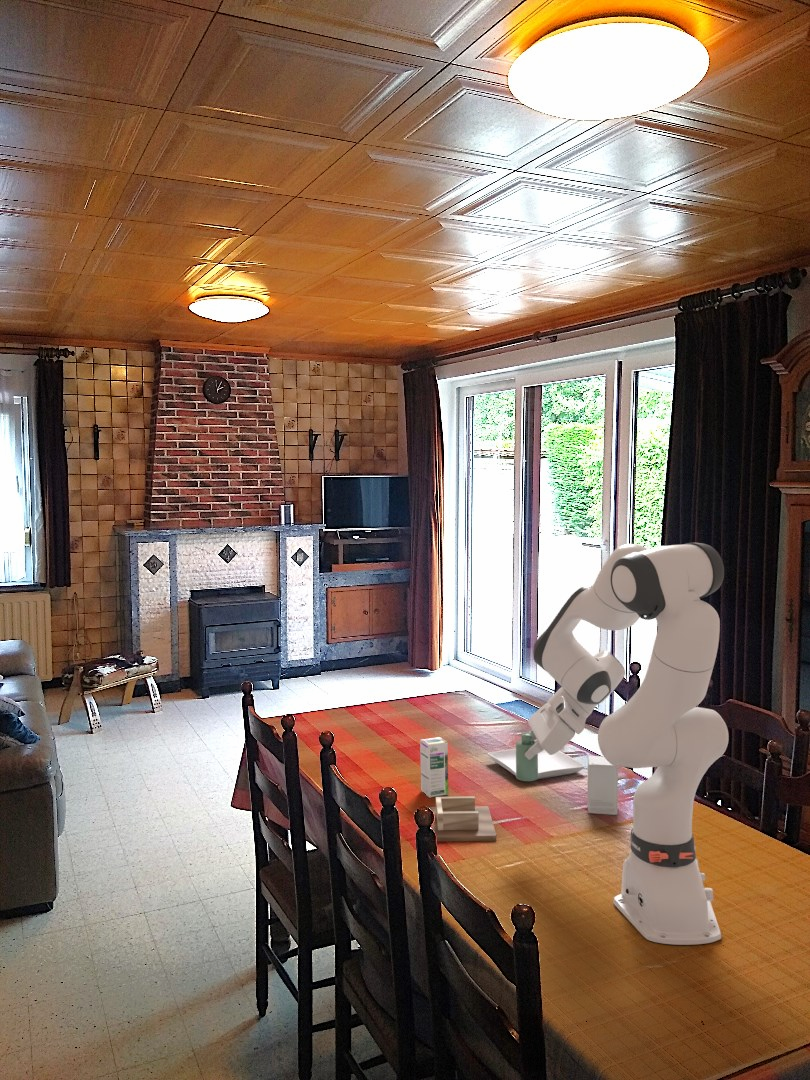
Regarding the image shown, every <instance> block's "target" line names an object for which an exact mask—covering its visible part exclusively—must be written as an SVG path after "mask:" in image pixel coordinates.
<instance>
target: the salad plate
mask: <svg viewBox="0 0 810 1080" xmlns="http://www.w3.org/2000/svg"><path fill="white" fill-rule="evenodd" d="M487 756H488V757H489V758H490V759H491V760H492V761H493V762H494V763H496V764H498V765H499V766H501V768H502V767H503V769H504V770H505V769H506V770H507V771H508V772H510V773H511V774H513V775H514V776H515V777H516V748H511V749H503V750H499V751H498V750H497V751H492V752H491V751H490V752H487ZM585 767H586V765H585V764H583V763H582V762H580V761H579V760H577V759H575V758H573V757H571V756H569V755H568V754H566V753H564V752H562V751H561V750H559V751H558V752H557V753H555V754H553V755H550V754H548V753H547V752H546V751H545V750H543V751H542V752H540V753H538V779H537V780H541V779H549V778H554V777H555V778H556V777H561V776H566V775H571V774H575V773H578V772H580V771H582V770H583V769H585Z"/></svg>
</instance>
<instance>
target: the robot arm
mask: <svg viewBox="0 0 810 1080" xmlns="http://www.w3.org/2000/svg"><path fill="white" fill-rule="evenodd" d="M724 578H725V565H724V563H723V559H722V557H721V555H720V553H719V552H718V551H717V550H716V549H715V548H714V547H713V546H711V545H709V544H706V543H704V542H703V543H702V542H701V543H700V542H687V543H684V544H671V545H659V546H655V547H652V548H647V547H644V546H642V545H639V544H637V543H636V544H635V543H626V544H622V545H619V546H618V547H616V548H615V549H614V550H613V551H612V553H611V554H610V555H609V557H608V558H607V559H606V561H605V562H604V564H603V566H602V567H601V568H600V570H599V573H598V574H597V576H596V579H595V580H594V583H593V584H592V585H589V584H586V585H583V586H581V587H580V588H578V589H576V590H575V591H574V592H573V593H572V594H571V595H570V597H569V598H568V599H567V600H566V601H565V602H564V605H563V606H562V607H561V608H560V610H559V612H558V613H557V614H556V616H555V617H554V619H552V621H551V623H550V624H549V626H548V627H547V629H545V631H543V633H542V634H541V635H540V636H539V637H538V638H537V639H536V641H535V643H534V644H533V650H532V651H533V652H532V653H533V654H532V655H533V661H534V663H535V664H536V665H538V666H539V667H540V668H541V669H543V670H544V672H547V674H548V675H550V677H551V678H553V680H554V681H556V682H557V684H558V685H559V686H560V688H558V689H557V691H556V692H554V694H553V695H552V696H551V697H550V698H549V699H548V700H547V702H546V703H545V704H543V705H542V706H541V707H540V708H538V710H536V711H535V712H534V713H533V714H532V715H531V716H529V717H530V718H528V720H527V723H528V725H529V727H530V730H529V731H528V732H527V733H529V734H532V741H535V740H536V741H535V743H534V745H533V746H532V747H530V748H528V749H527V750H526V751H525V752H524V755H525V757H527V758H528V759H529V760H530V759H532V758H533V757H534V756H535V755H536V754H538V753H540V752H542V751H543V750H545V751H546V752H547V753H548V754H550V755H553V754H555V753H557V752H558V751H561V750H562V749H563V748H564V747H565V746H566V745H567V744H568V743H569V742H570V741H572V739H573V738H574V737H575V735H576V734H577V735H580V734H581V733H582V732H583V731H584V730H585V727H586V725H585V724H586V721H587V718H588V717H589V716H590V715H592V712H593V711H594V710H595V708H596V706H598V705H599V704H601V703H603V702H604V701H605V700H606V699H607V698H608V697H609V696H610V695H611V694H612V693H613V691H615V689H617V687H618V685H619V684H620V683H621V682H622V680H623V679H624V677H625V676H626V670H625V667H624V666H623V664H622V663H621V662H620V661H619V660H618V658H617V657H616V656H615V655H614V654H612V653H611V652H609V651H608V650H603V649H602V650H600V651H599V652H598V653H596V654H595V655H592V654H591V653H590V652H589V651H587V649H586V648H584V646H582V645H581V643H579V641H578V640H577V639H576V638H575V636H574V633H573V631H574V630H575V629H576V627H577V626H578V624H579V623H580V622H581V620H583V621H585V622H587V623H588V624H589V623H590V624H591V625H593V626H595V627H596V628H599V629H603V630H606V631H607V630H608V631H621V630H622V631H623V630H625V629H628V628H630V627H632V626H633V625H635V623H636V622H638V620H639V619H643V620H646V621H650V620H654V619H655V620H656V622H657V629H656V630H657V631H656V632H657V633H656V637H655V640H654V642H653V648H652V652H651V655H650V660H649V663H648V666H647V670H646V673H645V676H644V677H643V678H644V679H643V681H642V682H641V684H640V686H639V688H638V689H637V690H636V692H635V693H634V694H633V695H632V696H631V697H630V698H629V700H628V701H626V703H624V704H623V705H622V706H621V707H619V708H618V709H617V710H616V711H613V713H609V715H607V716H605V717H604V718H603V720H602V722H601V723H600V725H599V728H598V732H597V741H598V742H597V743H598V747H599V751H600V753H601V754H602V756H604V757H605V759H606V760H607V761H608V762H609V763H610V764H612V765H615V766H618V767H622V768H631V769H642V768H643V769H645V768H656V769H655V771H654V772H653V774H652V775H651V776H650V777H649V778H647V779H646V780H645V781H643V782H642V783H640V784H639V785H638V786H637V788H636V790H635V791H634V794H633V800H632V802H633V804H632V806H633V807H632V808H633V809H632V814H633V815H632V820H633V821H632V823H633V824H632V829H631V831H630V836H629V841H630V850H631V851H630V853H629V854H628V856H627V857H626V858H625V859H624V861H623V862H622V873H621V874H622V876H621V891H620V892H621V893H620V894H616V895H615V896H614V897H613V905H614V906H615V907H616V908H617V909H618V911H620V912H621V914H622V915H623V916H624V917H625V918H626V919H627V920H628V921H629V922H630V923H631V924H632V926H634V928H635V929H636V930H637V931H638V932H639V933H640V934H641V935H642V937H644V938H645V940H648V941H650V942H653V943H657V944H658V943H659V944H664V945H675V946H676V945H679V946H680V945H681V946H683V945H685V946H689V945H692V946H693V945H703V944H711V943H714V942H718V941H719V940H721V939H722V933H721V929H720V927H719V923H718V920H717V917H716V914H715V912H714V908H713V905H712V902H713V901H714V890H713V888H712V887H704V886H705V885H704V882H703V881H706V874H705V873H704V872H700V871H701V870H700V867H699V860H698V858H697V856H696V855H697V854H696V843H695V837H694V834H692V832H693V831H692V829H693V811H694V802H695V801H694V800H695V796H696V792H697V789H698V788H699V785H700V783H701V780H702V779H703V777H704V775H705V774H706V772H707V771H708V769H709V768H710V767H711V765H713V764H714V763H715V762H716V761H717V760H718V759H719V758H721V757H722V756H723V755H724V753H725V752H726V750H727V748H728V744H729V730H728V726H727V724H726V722H725V720H724V719H723V718H722V716H721V715H720V713H718V712H717V711H716V710H715V709H711V708H706V707H700V706H699V704H701V703H702V701H703V700H704V699H705V697H706V695H707V692H708V688H709V684H710V681H711V677H712V673H713V669H714V666H715V663H716V658H717V653H718V649H719V642H720V628H721V627H720V625H721V623H720V617H719V614H718V612H717V610H716V609H715V608H714V607H713V606H712V605H711V604H709V603H708V602H706V601H704V600H701V599H703V598H705V597H708V596H709V595H712V594H714V593H715V592H717V590H719V589H720V587H721V586H722V585H723V581H724Z"/></svg>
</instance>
